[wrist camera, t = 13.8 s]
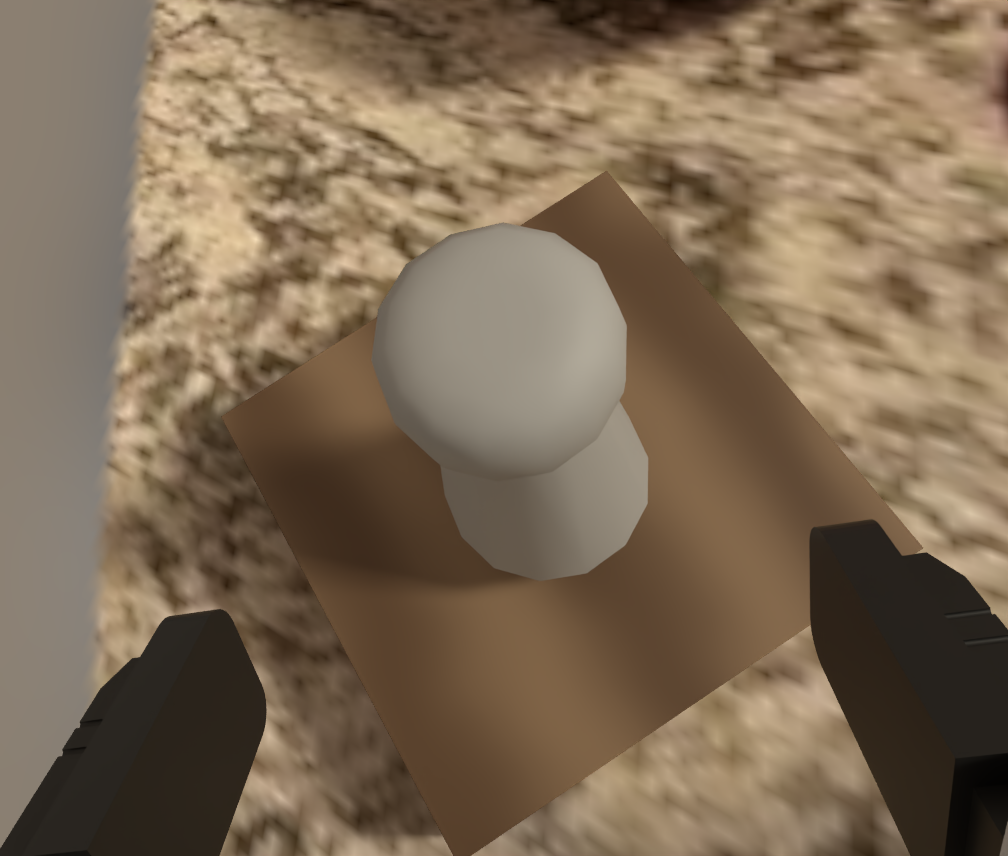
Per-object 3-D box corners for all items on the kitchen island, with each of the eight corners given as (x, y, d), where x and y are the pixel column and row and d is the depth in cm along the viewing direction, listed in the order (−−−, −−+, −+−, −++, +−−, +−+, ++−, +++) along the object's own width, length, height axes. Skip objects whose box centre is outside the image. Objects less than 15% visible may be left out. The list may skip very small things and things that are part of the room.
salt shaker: (437, 557, 24) (253, 446, 12) (491, 389, 26) (375, 135, 13) (620, 611, 23) (625, 548, 11) (666, 432, 24) (717, 195, 12)
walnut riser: (607, 230, 31) (606, 170, 28) (879, 565, 26) (923, 547, 22) (270, 447, 31) (221, 416, 27) (481, 835, 25) (458, 864, 22)
